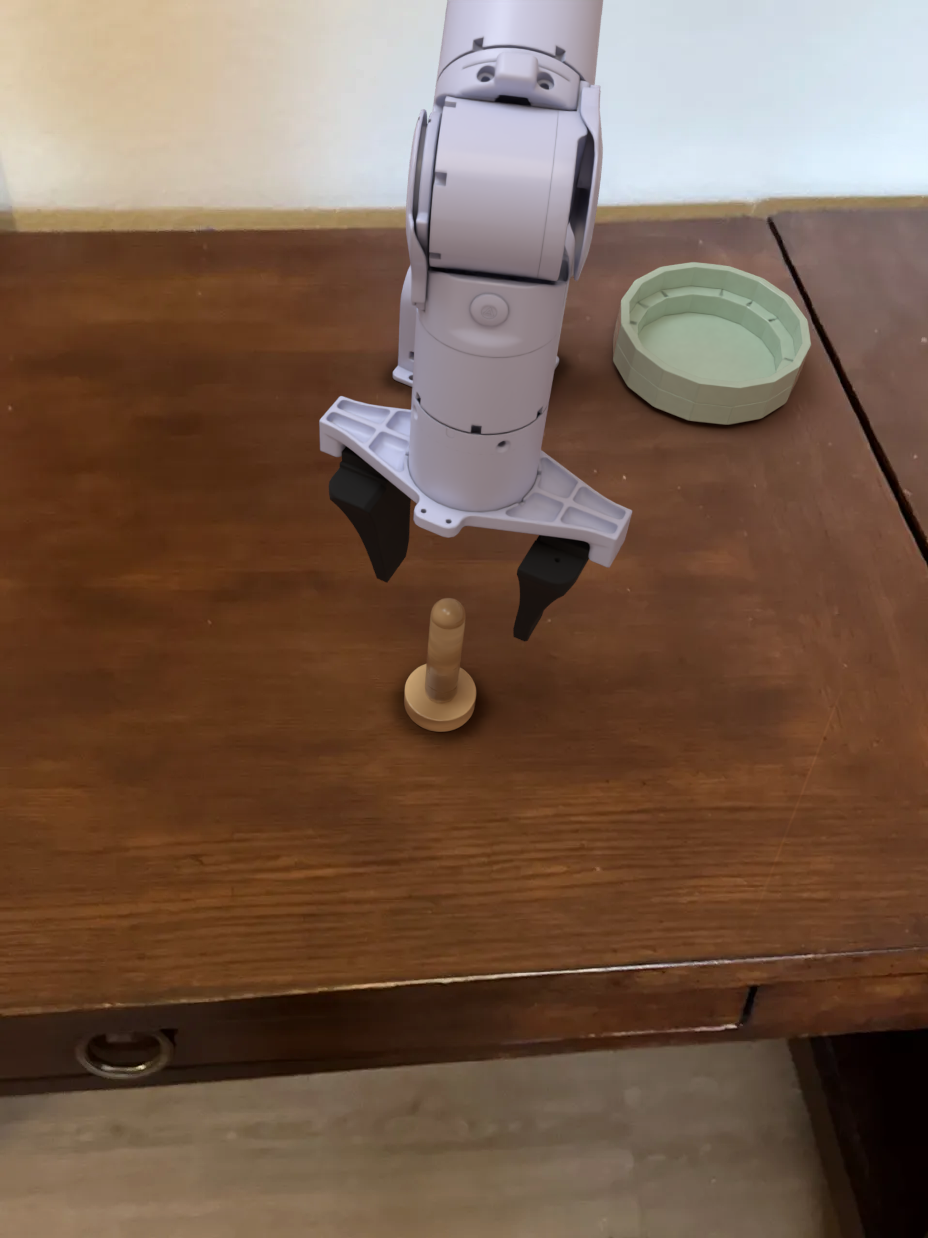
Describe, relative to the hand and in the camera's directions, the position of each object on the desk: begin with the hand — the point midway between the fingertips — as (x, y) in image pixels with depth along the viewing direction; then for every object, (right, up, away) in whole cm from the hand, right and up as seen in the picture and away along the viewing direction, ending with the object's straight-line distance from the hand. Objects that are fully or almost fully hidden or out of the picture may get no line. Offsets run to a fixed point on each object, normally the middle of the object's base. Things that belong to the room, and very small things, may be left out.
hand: (458, 596), depth 61 cm
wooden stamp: (-1, -6, +8) cm, 10 cm away
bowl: (+18, +17, +27) cm, 36 cm away
